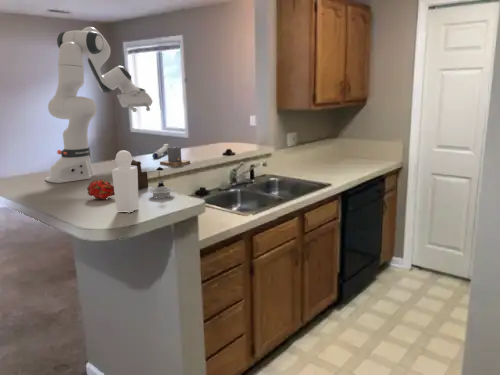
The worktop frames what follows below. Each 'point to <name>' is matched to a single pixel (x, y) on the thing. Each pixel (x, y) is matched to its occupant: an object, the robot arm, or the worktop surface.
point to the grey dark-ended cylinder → (160, 151)
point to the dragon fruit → (100, 189)
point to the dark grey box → (174, 154)
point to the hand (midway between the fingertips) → (142, 110)
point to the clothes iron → (141, 175)
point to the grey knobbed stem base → (161, 188)
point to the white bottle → (125, 183)
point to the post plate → (175, 162)
